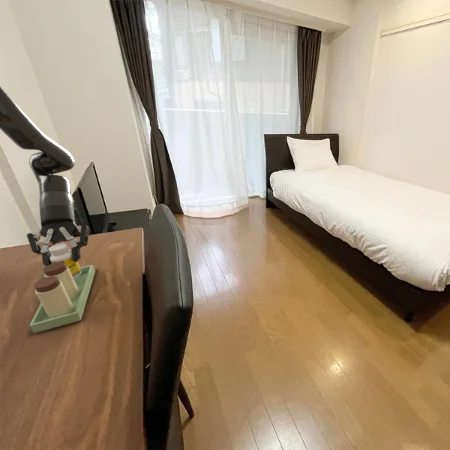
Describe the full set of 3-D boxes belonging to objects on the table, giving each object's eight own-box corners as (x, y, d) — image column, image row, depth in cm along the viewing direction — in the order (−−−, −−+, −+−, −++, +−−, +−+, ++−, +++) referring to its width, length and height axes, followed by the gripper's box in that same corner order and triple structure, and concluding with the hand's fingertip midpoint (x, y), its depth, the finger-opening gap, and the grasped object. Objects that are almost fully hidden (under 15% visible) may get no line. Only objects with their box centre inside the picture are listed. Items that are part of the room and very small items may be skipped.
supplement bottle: (59, 283, 76) (44, 254, 72) (59, 274, 80) (45, 245, 76) (83, 275, 79) (70, 247, 75) (81, 267, 83) (69, 239, 79)
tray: (59, 279, 83) (56, 272, 82) (95, 271, 86) (92, 264, 85) (33, 333, 64) (29, 325, 63) (81, 320, 68) (77, 312, 67)
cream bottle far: (44, 321, 67) (26, 289, 63) (58, 306, 71) (42, 276, 67) (66, 319, 68) (50, 287, 63) (78, 305, 72) (64, 274, 68)
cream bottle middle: (52, 303, 73) (36, 272, 68) (64, 291, 77) (50, 261, 73) (72, 301, 73) (58, 271, 69) (83, 289, 78) (70, 260, 73)
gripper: (17, 208, 74) (21, 267, 70) (81, 200, 80) (88, 254, 76) (32, 218, 81) (37, 273, 76) (91, 210, 86) (97, 260, 82)
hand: (62, 263), depth 76 cm, fingers closed on supplement bottle, 5 cm apart
